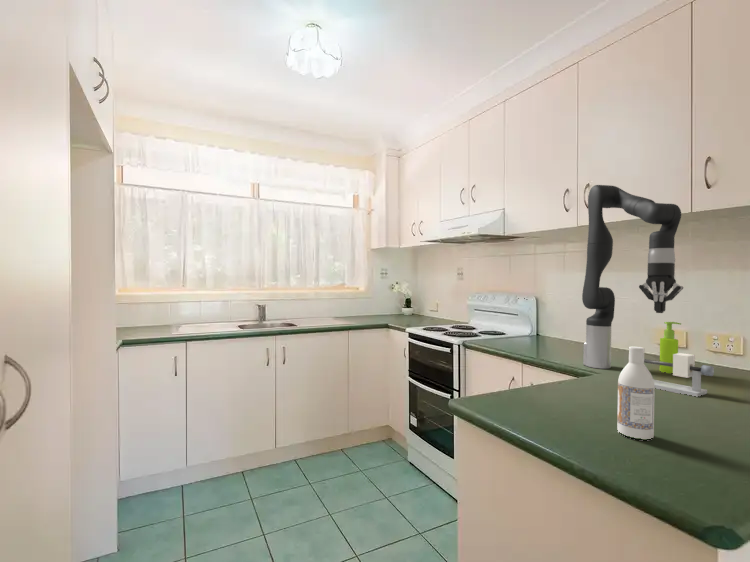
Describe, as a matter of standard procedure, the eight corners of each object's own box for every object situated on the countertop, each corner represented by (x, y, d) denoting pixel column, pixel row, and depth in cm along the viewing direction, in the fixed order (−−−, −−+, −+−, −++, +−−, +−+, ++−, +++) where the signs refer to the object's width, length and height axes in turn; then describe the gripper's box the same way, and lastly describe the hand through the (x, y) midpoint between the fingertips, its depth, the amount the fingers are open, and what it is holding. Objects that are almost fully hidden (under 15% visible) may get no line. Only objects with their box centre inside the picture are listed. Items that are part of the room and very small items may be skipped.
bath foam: (619, 427, 96) (621, 343, 96) (655, 435, 91) (656, 347, 91) (614, 435, 90) (616, 347, 90) (651, 444, 86) (653, 350, 86)
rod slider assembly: (627, 382, 140) (627, 355, 140) (638, 380, 145) (638, 353, 145) (706, 399, 122) (707, 367, 122) (716, 395, 126) (716, 365, 126)
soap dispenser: (683, 374, 156) (684, 323, 156) (663, 373, 157) (664, 322, 157) (675, 371, 162) (676, 321, 162) (656, 369, 163) (657, 320, 163)
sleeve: (672, 375, 130) (673, 354, 130) (679, 373, 133) (680, 352, 133) (687, 377, 127) (687, 356, 127) (694, 375, 130) (694, 354, 130)
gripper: (634, 262, 140) (633, 311, 140) (679, 261, 129) (678, 315, 129) (644, 263, 144) (643, 311, 144) (688, 262, 133) (687, 314, 133)
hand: (659, 312), depth 136 cm, fingers closed
